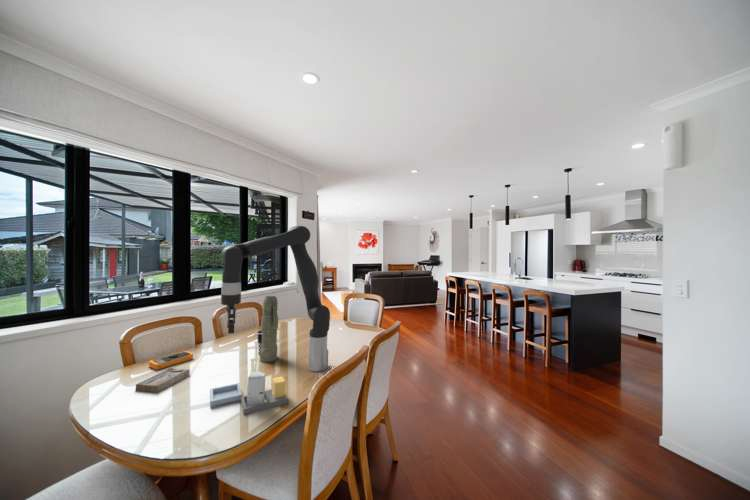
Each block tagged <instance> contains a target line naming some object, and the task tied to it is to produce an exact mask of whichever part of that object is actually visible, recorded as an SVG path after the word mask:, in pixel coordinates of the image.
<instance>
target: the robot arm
mask: <svg viewBox="0 0 750 500" xmlns="http://www.w3.org/2000/svg"><path fill="white" fill-rule="evenodd" d="M310 238H311V232H310V230H309V228H308V227H306V226H303V225H296V226H295V225H294V226H291V227H290V228H288V230H287V231H286V232H282V233H280V234H275V235H270V236H264V237H260V238H257V239H253V240H249V241H246V242H243V243H239V244H233V245H228V246H226V247H224V248H223V249H222V250H221V258H222V259H223V260H224V268H223V271H222V273H221V274H222V275H221V276H222V277H221V278H222V280H221V281H222V282H221V290H220V291H221V293H220V295H221V296H220V299H221V301H220V304H221V305H222V306H226V307H225V316H226V321H227V323H226V328H227V331H228V332H227V334H234V333H235V324H236V318H237V307H235V306H236V305H239V304H241V302H242V282H241V281H242V277H241V276H242V275H241V272H242V271H241V270H242V265H243V259H245V258H251V257H257V256H260V255H263V254H266V253H269V252H272V251H275V250H278V249H282V248H285V247H288V246H289V247H290V249H291V251H292V255H293V258H294V262H295V266H296V271H297V274H298V277H299V281H300V282H299V283H300V284H301V289H302V291H303V294H304V295H303V296H304V297H305V302H306V309H307V315H308V317H309V319H310V320H311V321H312V328H310V329H309V340H308V343H309V345H308V370H309V371H311V372H322V371H324V370H327V369H328V368H329V349H328V333H329V330H330V324H331V323H330V322H331V311H330V309H329V308H328V307H327V306H326V305H324V304H322V301H321V299H320V295H319V282H320V281H319V280H320V279H319V275H318V271H317V267H316V265H315V263H314V261H313V260H312V258H311V256H310V255H309V253H308V250H307V247H306V243H307V242H308V241H310Z"/></svg>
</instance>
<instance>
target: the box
mask: <svg viewBox="0 0 750 500" xmlns="http://www.w3.org/2000/svg"><path fill="white" fill-rule="evenodd" d="M189 376H190V369H185V368H175V367H174V368H173V367H170V368H168V369H166V370H164V371H162V372H161V371H160V373H157V374H155V375H152V376H151V377H149V378H147V379H145V380H142V381H140V382H138V383H137V384H135V391H136V392H144V393H145V392H147V393H152V394H153V393H155V394H157V393H159V392H161V391H163V390H165V389H166V388H168V387H170V386H172V385H174V384H176V383H178V382H180V381H181V380H183V379H185V378H187V377H189Z"/></svg>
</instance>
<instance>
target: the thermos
mask: <svg viewBox="0 0 750 500" xmlns="http://www.w3.org/2000/svg"><path fill="white" fill-rule="evenodd" d="M278 303H279V302H278V297H277V296H275V295H268V296H267V295H266V296H265V297H264V299H263V301H262V316H261V319H260V320H261V322H260V328H261V344H260V348H259V350H260V351H259V352H260V353H259V357H260V360H259V361H260V362H262V363H273V362H275V361H277V359H278V358H277V356H278V345H277V338H278V336H277V335H278V328H279V316H278V306H279V305H278Z"/></svg>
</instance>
